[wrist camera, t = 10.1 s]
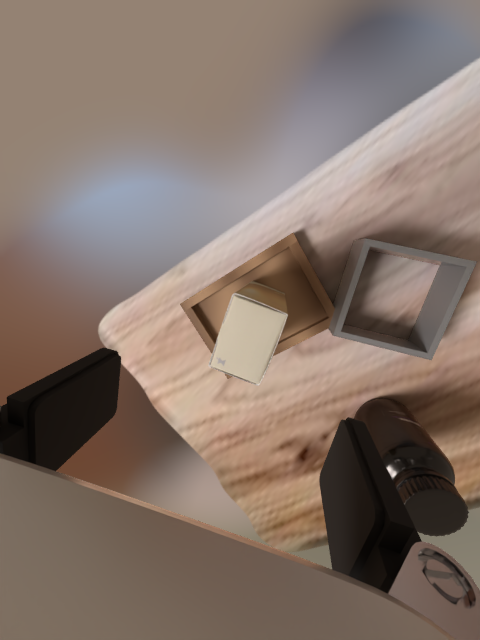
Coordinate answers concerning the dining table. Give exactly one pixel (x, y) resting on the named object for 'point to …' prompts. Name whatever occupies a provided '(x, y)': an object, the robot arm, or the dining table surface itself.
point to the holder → (434, 309)
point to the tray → (275, 272)
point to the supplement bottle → (415, 467)
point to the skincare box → (250, 332)
